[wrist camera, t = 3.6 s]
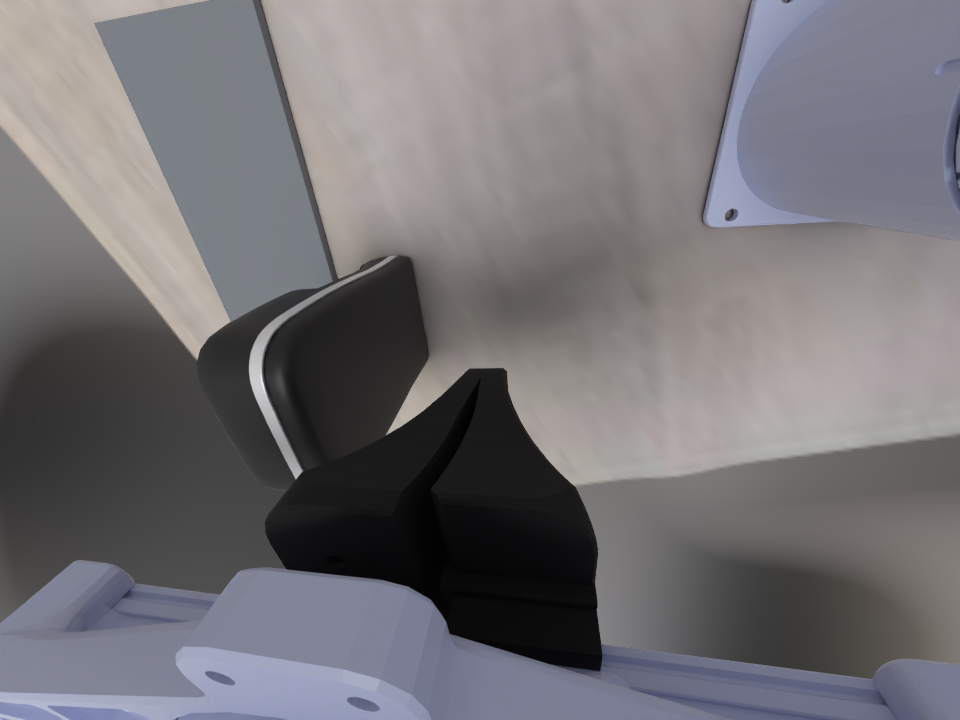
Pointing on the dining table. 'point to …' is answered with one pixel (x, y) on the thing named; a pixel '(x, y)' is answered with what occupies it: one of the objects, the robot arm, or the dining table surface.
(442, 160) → the dining table surface
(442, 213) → the dining table surface
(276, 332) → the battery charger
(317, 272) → the mat
